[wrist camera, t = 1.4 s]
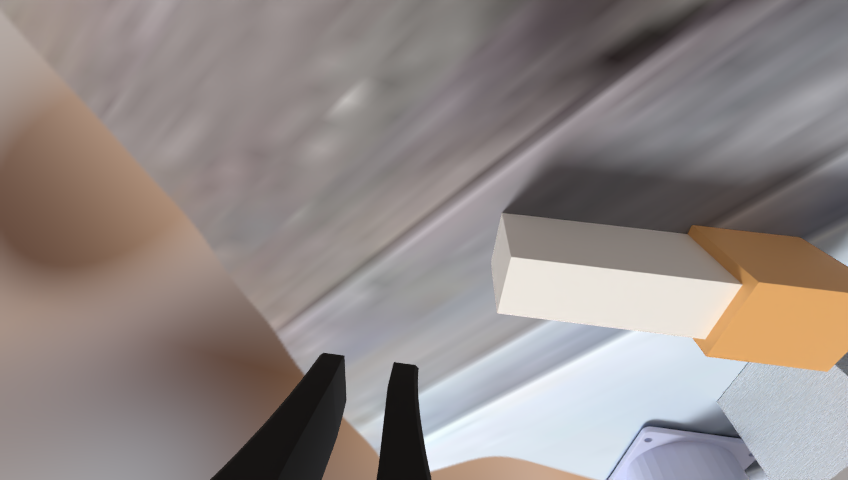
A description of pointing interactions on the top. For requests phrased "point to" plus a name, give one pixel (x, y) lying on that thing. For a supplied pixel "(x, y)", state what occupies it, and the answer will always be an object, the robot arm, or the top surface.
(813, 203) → the top surface
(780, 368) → the grey long block
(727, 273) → the plug
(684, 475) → the robot arm
